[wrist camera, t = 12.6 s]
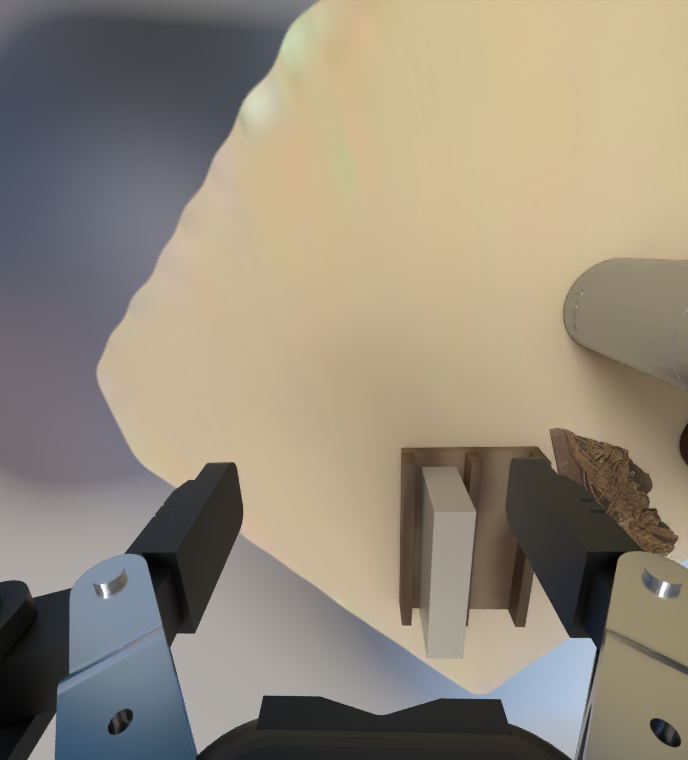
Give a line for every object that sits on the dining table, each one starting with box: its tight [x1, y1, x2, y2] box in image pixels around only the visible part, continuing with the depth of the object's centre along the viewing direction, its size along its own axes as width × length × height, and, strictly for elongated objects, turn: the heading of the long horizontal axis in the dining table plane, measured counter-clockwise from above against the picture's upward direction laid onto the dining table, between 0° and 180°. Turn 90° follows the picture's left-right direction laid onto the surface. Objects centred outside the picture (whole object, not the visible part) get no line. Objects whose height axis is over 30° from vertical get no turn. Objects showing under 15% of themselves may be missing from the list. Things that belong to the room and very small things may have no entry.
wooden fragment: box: [549, 428, 678, 557], centre depth 45 cm, size 26×11×1 cm, turn 34°
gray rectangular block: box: [417, 467, 476, 659], centre depth 43 cm, size 4×20×8 cm, turn 2°
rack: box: [399, 447, 551, 627], centre depth 46 cm, size 16×24×4 cm, turn 2°
